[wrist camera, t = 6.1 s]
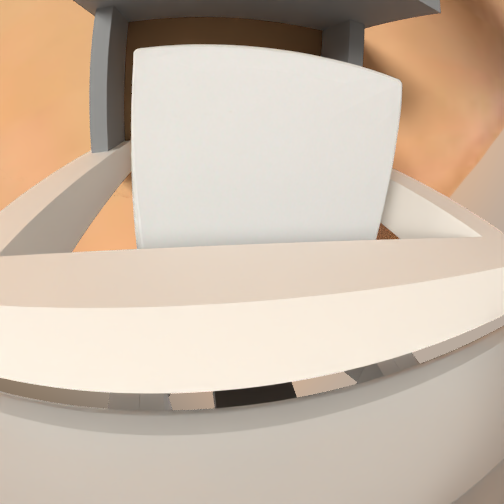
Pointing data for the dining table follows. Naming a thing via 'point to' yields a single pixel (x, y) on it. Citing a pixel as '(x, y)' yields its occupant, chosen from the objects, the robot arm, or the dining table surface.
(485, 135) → the dining table surface
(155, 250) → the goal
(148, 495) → the robot arm
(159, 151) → the supplement box
